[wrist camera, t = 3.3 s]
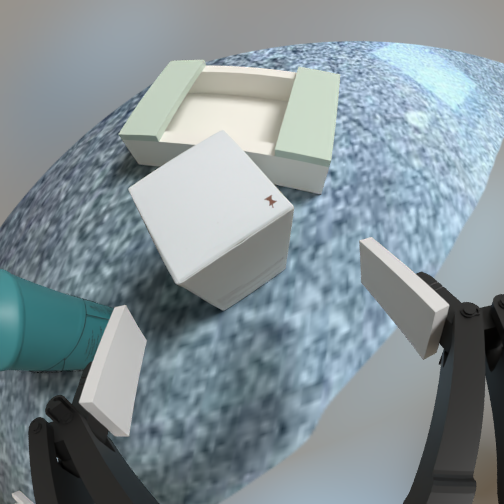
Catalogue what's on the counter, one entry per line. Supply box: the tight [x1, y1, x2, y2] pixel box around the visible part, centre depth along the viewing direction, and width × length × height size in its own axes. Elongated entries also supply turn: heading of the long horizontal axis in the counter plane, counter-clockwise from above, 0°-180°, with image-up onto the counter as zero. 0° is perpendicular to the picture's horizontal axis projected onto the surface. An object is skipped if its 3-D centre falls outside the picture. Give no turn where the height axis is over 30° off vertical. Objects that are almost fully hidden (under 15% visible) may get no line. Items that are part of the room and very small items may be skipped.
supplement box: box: [128, 130, 294, 311], centre depth 21 cm, size 7×7×13 cm
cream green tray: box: [119, 60, 340, 194], centre depth 29 cm, size 22×14×6 cm, turn 75°
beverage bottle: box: [0, 269, 114, 373], centre depth 16 cm, size 6×7×20 cm
